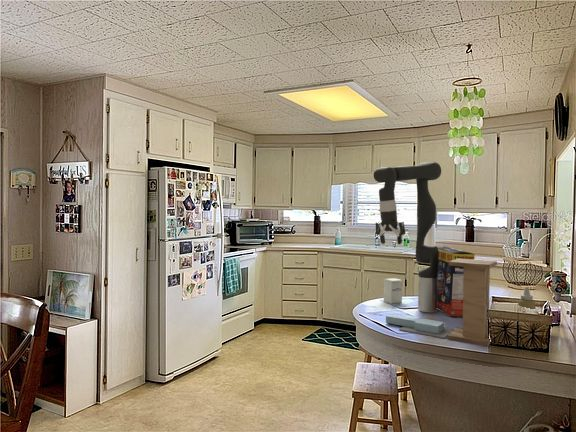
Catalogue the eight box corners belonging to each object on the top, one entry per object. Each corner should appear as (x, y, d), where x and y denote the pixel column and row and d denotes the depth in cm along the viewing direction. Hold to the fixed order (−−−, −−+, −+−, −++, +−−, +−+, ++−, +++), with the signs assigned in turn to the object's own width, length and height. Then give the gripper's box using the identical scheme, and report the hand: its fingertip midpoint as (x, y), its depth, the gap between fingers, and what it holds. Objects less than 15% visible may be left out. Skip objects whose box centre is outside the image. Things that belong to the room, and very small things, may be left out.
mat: (411, 322, 196) (411, 321, 196) (455, 330, 185) (455, 328, 185) (399, 330, 184) (399, 328, 184) (444, 338, 173) (444, 337, 173)
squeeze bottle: (531, 331, 183) (532, 289, 183) (512, 327, 190) (512, 286, 189) (540, 328, 188) (541, 287, 187) (521, 324, 194) (521, 284, 194)
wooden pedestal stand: (457, 330, 184) (458, 258, 183) (495, 337, 175) (496, 261, 174) (447, 338, 172) (448, 261, 172) (487, 346, 164) (489, 264, 163)
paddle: (391, 319, 198) (391, 313, 198) (444, 329, 184) (444, 322, 184) (383, 323, 192) (383, 317, 192) (438, 333, 178) (438, 326, 177)
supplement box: (391, 303, 234) (391, 280, 234) (383, 301, 241) (383, 278, 241) (402, 302, 237) (402, 279, 236) (394, 300, 244) (394, 277, 243)
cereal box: (472, 318, 205) (476, 251, 204) (449, 317, 205) (452, 250, 204) (450, 306, 231) (453, 246, 231) (430, 305, 231) (432, 245, 231)
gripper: (405, 208, 200) (409, 242, 201) (379, 209, 209) (382, 241, 211) (397, 210, 194) (401, 245, 196) (370, 211, 204) (374, 244, 206)
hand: (391, 243), depth 203 cm, fingers open, 8 cm apart
